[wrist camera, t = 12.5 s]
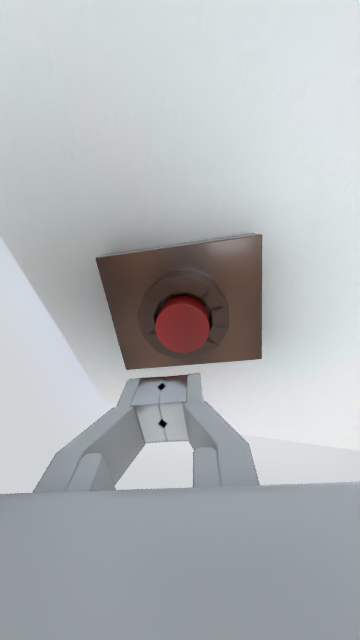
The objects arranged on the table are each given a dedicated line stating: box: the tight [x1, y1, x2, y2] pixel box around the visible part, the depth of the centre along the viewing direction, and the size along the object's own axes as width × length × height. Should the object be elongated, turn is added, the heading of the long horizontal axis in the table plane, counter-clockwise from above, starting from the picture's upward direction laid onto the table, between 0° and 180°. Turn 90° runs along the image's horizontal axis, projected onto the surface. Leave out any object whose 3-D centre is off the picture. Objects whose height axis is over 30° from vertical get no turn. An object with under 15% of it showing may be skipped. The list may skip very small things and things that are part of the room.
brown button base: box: [96, 233, 262, 370], centre depth 18 cm, size 12×10×4 cm
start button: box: [155, 296, 209, 353], centre depth 15 cm, size 4×4×2 cm
